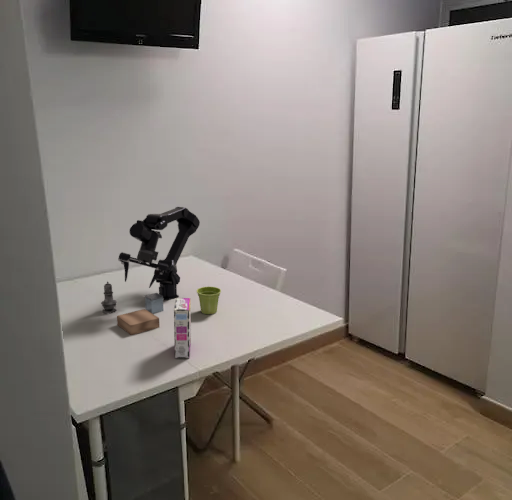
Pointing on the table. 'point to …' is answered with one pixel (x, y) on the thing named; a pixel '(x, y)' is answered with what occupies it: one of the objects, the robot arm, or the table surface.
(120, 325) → the walnut block
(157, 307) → the slate tin
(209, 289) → the plant pot
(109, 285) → the dark grey tall piece
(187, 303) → the candy bar box
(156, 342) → the table surface
